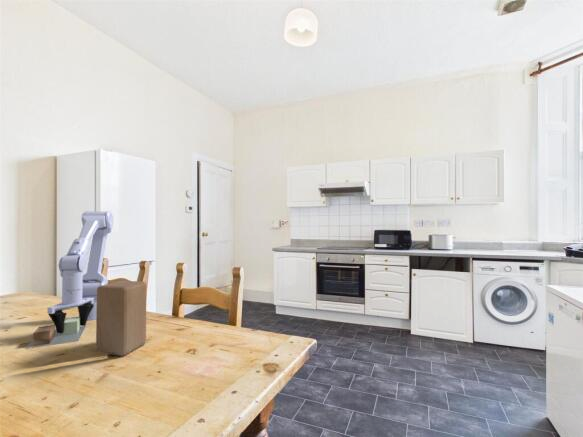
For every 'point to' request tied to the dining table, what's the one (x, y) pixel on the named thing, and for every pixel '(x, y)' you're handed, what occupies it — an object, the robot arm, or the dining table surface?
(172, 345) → the dining table surface
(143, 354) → the dining table surface
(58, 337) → the baseplate
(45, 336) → the walnut brick
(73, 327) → the green brick
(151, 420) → the dining table surface
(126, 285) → the block
